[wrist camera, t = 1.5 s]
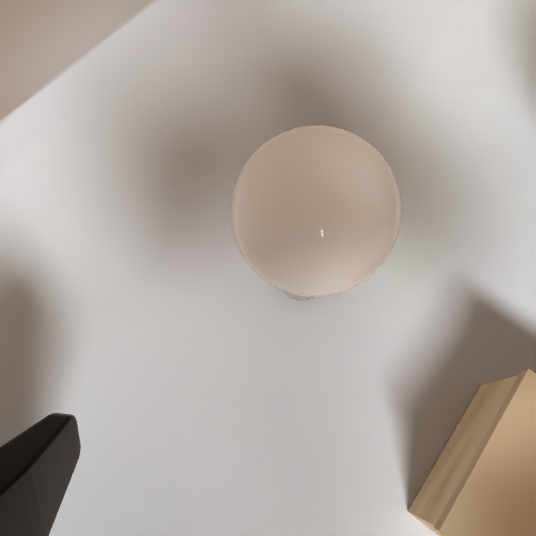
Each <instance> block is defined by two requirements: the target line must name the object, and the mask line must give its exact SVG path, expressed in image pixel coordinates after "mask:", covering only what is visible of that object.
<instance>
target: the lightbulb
mask: <svg viewBox="0 0 536 536" xmlns="http://www.w3.org/2000/svg"><path fill="white" fill-rule="evenodd" d="M400 223H401V197H400V192H399V187H398V184H397V181H396V178H395V176H394V174H393V172H392V170H391V168H390V166H389V164H388V163H387V161H386V160H385V159H384V157H383V156H382V155H381V154H380V153H379V152H378V151H377V150H376V149H375V148H374V147H373V146H372V145H371V144H370V143H368V142H367V141H366V140H364V139H363V138H361V137H359V136H358V135H356V134H354V133H352V132H349V131H347V130H344V129H341V128H337V127H332V126H325V125H309V126H302V127H297V128H293V129H290V130H287V131H285V132H282V133H280V134H278V135H276V136H274V137H273V138H271V139H269V140H268V141H267V142H265V143H264V144H263V145H261V146H260V147H259V148H258V149H257V150H256V151H255V152H254V153H253V154H252V155H251V157H250V158H249V159H248V160H247V162H246V163H245V165H244V166H243V168H242V170H241V172H240V174H239V176H238V178H237V180H236V183H235V186H234V190H233V194H232V199H231V225H232V231H233V235H234V238H235V241H236V244H237V246H238V248H239V250H240V252H241V254H242V256H243V257H244V259H245V260H246V262H247V263H248V264H249V266H250V267H251V268H252V269H253V270H254V271H255V272H256V273H257V274H258V275H259V276H260V277H261V278H262V279H264V280H265V281H266V282H268V283H269V284H271V285H273V286H275V287H276V288H278V289H281V290H283V291H284V292H285V293H286V294H287V295H288V296H290V297H292V298H294V299H298V300H310V299H313V298H315V297H321V296H329V295H334V294H338V293H341V292H344V291H347V290H349V289H351V288H354V287H356V286H357V285H359V284H361V283H362V282H364V281H365V280H366V279H368V278H369V277H370V276H371V275H373V274H374V273H375V272H376V271H377V270H378V269H379V268H380V266H381V265H382V264H383V263H384V261H385V260H386V259H387V257H388V255H389V254H390V252H391V250H392V248H393V246H394V244H395V241H396V239H397V236H398V232H399V228H400Z"/></svg>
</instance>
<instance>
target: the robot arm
mask: <svg viewBox="0 0 536 536" xmlns="http://www.w3.org/2000/svg"><path fill="white" fill-rule="evenodd" d="M80 448H81V446H80V439H79V433H78V426H77V421H76V418H75V417H74V416H73V415H70V414H61V413H53V414H50V415H48V416H47V417H45V418H44V419H42V420H41V421H39V422H38V423H36V424H35V425H33V426H32V427H30V428H29V429H27V430H26V431H24V432H23V433H21V434H20V435H18V436H16V437H15V438H13V439H12V440H10V441H9V442H7V443H6V444H4V445H3V446H1V447H0V536H48V535H49V533H50V530H51V528H52V526H53V523H54V520H55V518H56V515H57V513H58V510H59V508H60V505H61V503H62V500H63V497H64V495H65V492H66V490H67V487H68V485H69V482H70V479H71V477H72V474H73V472H74V469H75V467H76V464H77V461H78V459H79V455H80Z"/></svg>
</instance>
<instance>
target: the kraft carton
mask: <svg viewBox="0 0 536 536" xmlns="http://www.w3.org/2000/svg"><path fill="white" fill-rule="evenodd" d="M408 512H410V513H411V514H412V515H413V516H415V517H416V518H417V519H418V520H420V521H421V522H422V523H424V524H425V525H426V526H427V527H429V528H430V529H431V530H432V531H434V532H435V533H436V534H438V535H439V536H536V373H535V372H533V371H532V370H530V369H525V370H521V371H520V373H519V375H516V376H512V377H509V378H505V379H501V380H497V381H493V382H489V383H485V384H481V385H480V387H479V389H478V390H477V392H476V394H475V396H474V397H473V399H472V401H471V403H470V404H469V406H468V408H467V409H466V411H465V413H464V415H463V416H462V418H461V420H460V422H459V423H458V425H457V427H456V428H455V430H454V432H453V434H452V435H451V437H450V439H449V441H448V442H447V444H446V446H445V447H444V449H443V451H442V453H441V454H440V456H439V458H438V460H437V461H436V463H435V465H434V466H433V468H432V470H431V472H430V473H429V475H428V477H427V478H426V480H425V482H424V484H423V485H422V487H421V489H420V491H419V492H418V494H417V496H416V497H415V499H414V501H413V503H412V504H411V506H410V508H409V510H408Z"/></svg>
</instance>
